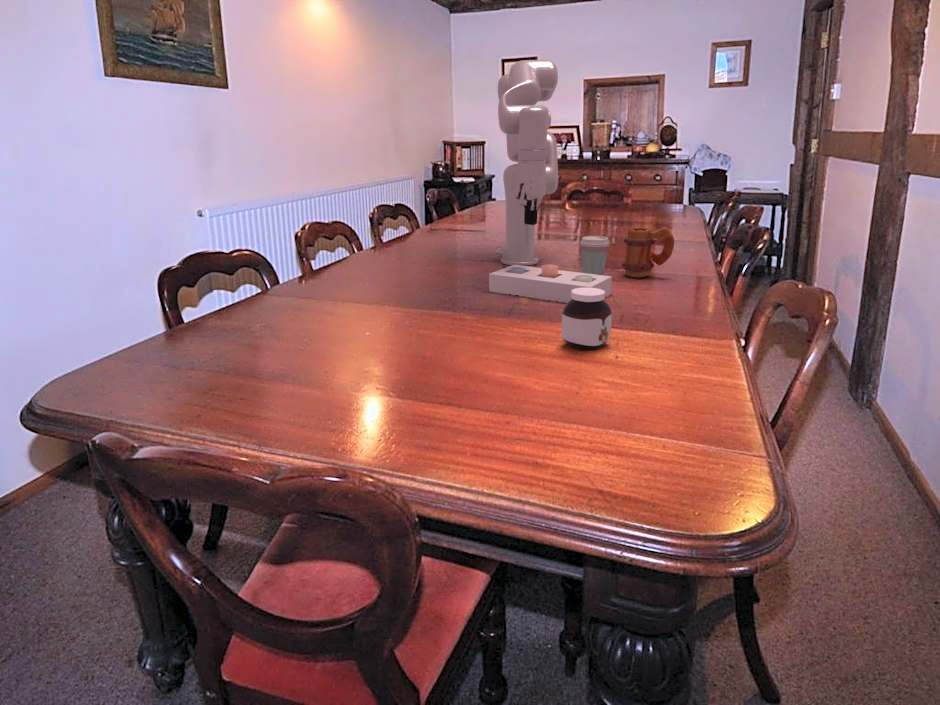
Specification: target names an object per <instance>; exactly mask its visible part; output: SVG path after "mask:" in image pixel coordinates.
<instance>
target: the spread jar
mask: <svg viewBox="0 0 940 705" xmlns="http://www.w3.org/2000/svg"><path fill="white" fill-rule="evenodd" d="M612 316H613V314H612V308H611V306H610V305H609V303H608V302H607V301H606V300H605V291H604V290H601V289H597V288H576V289H573V290H572V291H571V300H570V301H569V302H568V303H565V306H564V308H563V310H562V315H561V328H560V329H561V330H560V331H561V338H562V340H563V341H564V343H566V344H567V346H569V347H571V349H575V350H577V351H595V350H599V349H601V348H602V347H604V346H605V345H606V344H607V343H608V341H609V339H610V336H611V333H612V319H613V317H612Z"/></svg>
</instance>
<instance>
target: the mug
mask: <svg viewBox="0 0 940 705" xmlns="http://www.w3.org/2000/svg"><path fill="white" fill-rule="evenodd" d="M654 239H656V240H657V241H659V242H660V243H662V244H663V247H662V251H661V252H660V253H658V254H656V253H653V252H651V251H652V250H651V249H652V248H651V246H652V245H654V244H655V243H656V242H655V240H654ZM623 242H624V243H625V245H626V250H625V251H626V253H625V261H624V262H623V263H621V267H622V268H623V269H624V273H625V275H626V276H628V277H630V278H633V277H634V278H635V279H637V278H644V277H645V278H646V277H648V276H649V275H651V274H652V269H653V268H654V267H655V264H656V265H657V266H662V265H663V264H664V263H666V262H667V261H668V260H669V258H671V256H672V253H673V251H674V248H675V238H674V235H673V233H672V231H671V230H670V229H669V228H668V227H666V226H664V227H661V228H659V229H658V230H656V231H655V230H653V231H652V230H651V228H647V227H646V228H644V227H638V228H637V227H630V228H628V233H627V237H626V238H624V240H623ZM653 262H654V263H655V264H654V263H653Z"/></svg>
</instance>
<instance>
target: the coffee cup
mask: <svg viewBox="0 0 940 705" xmlns="http://www.w3.org/2000/svg"><path fill="white" fill-rule="evenodd" d="M579 246H580V250H581V263H582V264H581V265H582V266H581V268H582V273H587V274H596V275H604V273H605V268H606V262H607V256H608V249H609V246H610V241H609V238H608V237H607V236H603V235H602V236H601V235H587V236H583V237H582V238H581V240H580V242H579Z"/></svg>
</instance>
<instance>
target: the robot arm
mask: <svg viewBox="0 0 940 705" xmlns="http://www.w3.org/2000/svg"><path fill="white" fill-rule="evenodd" d="M558 73H559V72H558V67H557V65H556V64H555V62H553V61H552V60H549V59H525V60H523V59H521V60H519V61H516V62H515V63H513V64H512V65H511V67H510V69H509V72H508V73H505V74H504V75H502V76H501V77H500V78H498V82H497V96H498V107H497V116H498V117H497V118H498V125H499V129H500V130H501V132H502V133H504V134H506V153H507V156H508V159H509V160H510V161H512V162H515V163H514V164H510V165H508V166H507V167H505V169H504V171H503V175H502V176H503V177H502V178H503V179H502V180H503V181H502V182H503V188H504V197H505V247H497V248H496V250H495V254H496V255H502V257H501V258H500V263H501V264H503V265H507V266H512V265H520V266H533V265H536V264H538V263H539V262H540V261H539V257H536V256H535V238H536V237H535V236H536V235H535V234H536V233H535V230H536V225H537V224H538V210H539V207H540V206H539V205H540V202H541V201H542V200H543V197H544V196H545V195H550V194H554V193H555V192H556V191H557V189H558V185H559V164H558V145H557V139H556V137H555V135H554V133H553V132H551V131H548V130H549V128H550V127H551V125H552V124H551V123H552V113H551V111H550V110H549V108H548V107H547V106H545V105H543V104H542V105H541V104H540V105H539V104H538V102H547V101H550V100H551V98H552V96H553V95H554V92H555V91H556V88H557V84H558V81H559V80H558V79H559V74H558ZM537 104H538V105H537Z"/></svg>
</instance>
